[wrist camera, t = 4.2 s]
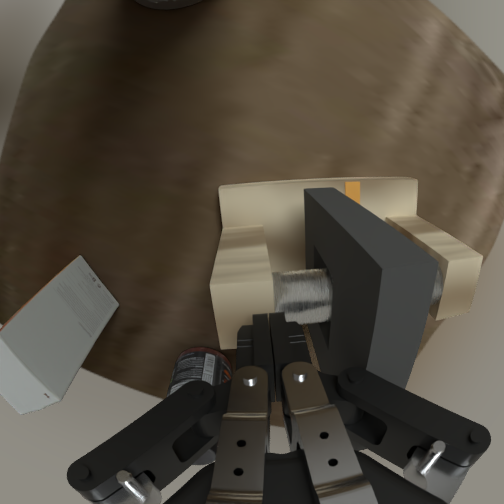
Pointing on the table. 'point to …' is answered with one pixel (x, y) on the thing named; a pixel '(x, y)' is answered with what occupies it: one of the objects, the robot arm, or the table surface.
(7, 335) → the small box
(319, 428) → the robot arm
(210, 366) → the supplement bottle
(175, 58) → the table surface
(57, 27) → the table surface
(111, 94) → the table surface
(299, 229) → the pipe stand
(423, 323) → the dark grey flat block
